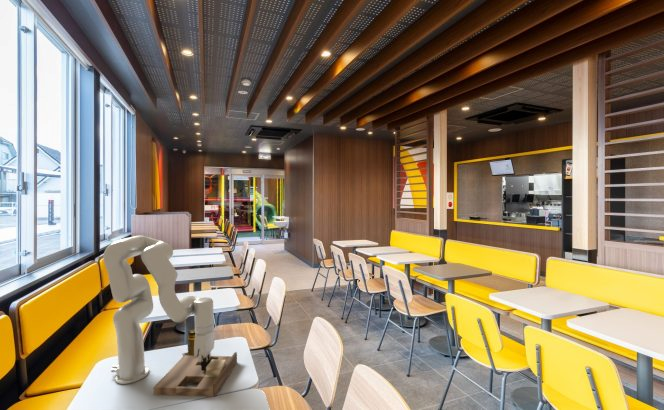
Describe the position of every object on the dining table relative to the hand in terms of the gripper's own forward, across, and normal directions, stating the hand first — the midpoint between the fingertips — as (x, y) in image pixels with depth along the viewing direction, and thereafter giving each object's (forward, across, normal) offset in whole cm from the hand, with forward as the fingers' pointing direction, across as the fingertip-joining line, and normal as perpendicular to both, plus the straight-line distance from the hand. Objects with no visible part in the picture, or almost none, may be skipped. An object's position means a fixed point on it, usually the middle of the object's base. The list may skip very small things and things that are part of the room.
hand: (205, 369), depth 141 cm
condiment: (+4, -18, -15) cm, 24 cm away
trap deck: (+4, 0, -3) cm, 5 cm away
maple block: (+1, 0, +5) cm, 5 cm away
